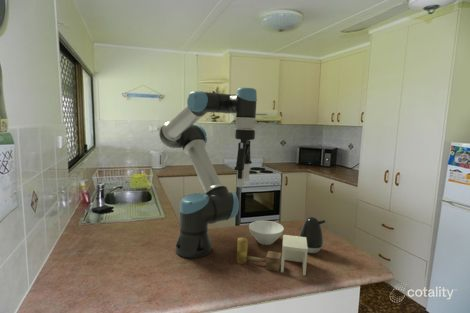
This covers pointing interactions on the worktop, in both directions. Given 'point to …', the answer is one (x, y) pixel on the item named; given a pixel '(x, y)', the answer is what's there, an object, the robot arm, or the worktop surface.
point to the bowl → (266, 231)
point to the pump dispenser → (312, 234)
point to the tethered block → (271, 259)
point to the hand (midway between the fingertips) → (242, 182)
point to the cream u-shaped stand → (294, 250)
